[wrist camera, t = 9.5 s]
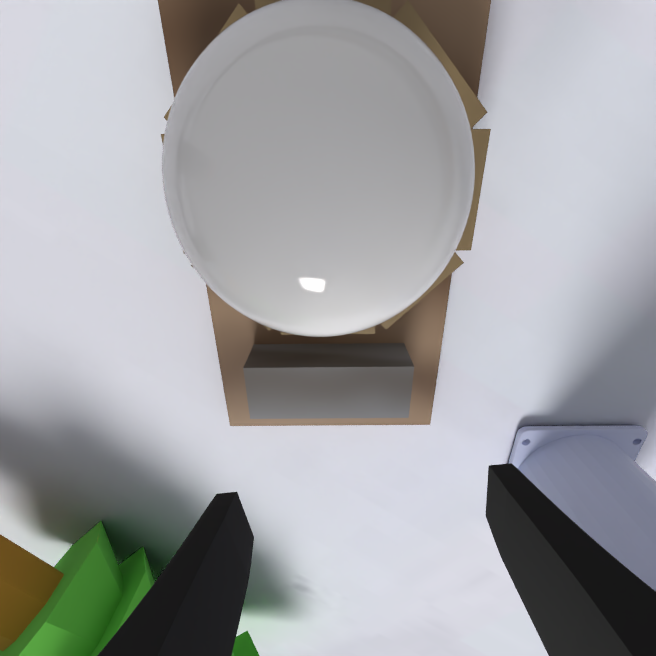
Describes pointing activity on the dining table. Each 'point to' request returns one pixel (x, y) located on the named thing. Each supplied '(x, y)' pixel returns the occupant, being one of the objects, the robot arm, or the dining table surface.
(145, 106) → the dining table surface
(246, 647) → the decorative tree
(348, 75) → the lightbulb
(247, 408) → the jig
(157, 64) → the dining table surface
